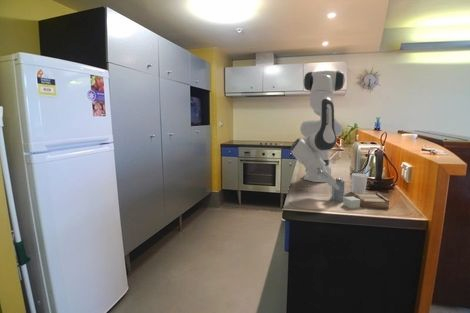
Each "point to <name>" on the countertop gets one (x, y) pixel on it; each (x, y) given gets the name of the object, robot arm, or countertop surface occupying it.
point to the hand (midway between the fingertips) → (335, 186)
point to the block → (351, 202)
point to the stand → (372, 200)
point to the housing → (338, 191)
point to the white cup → (358, 183)
